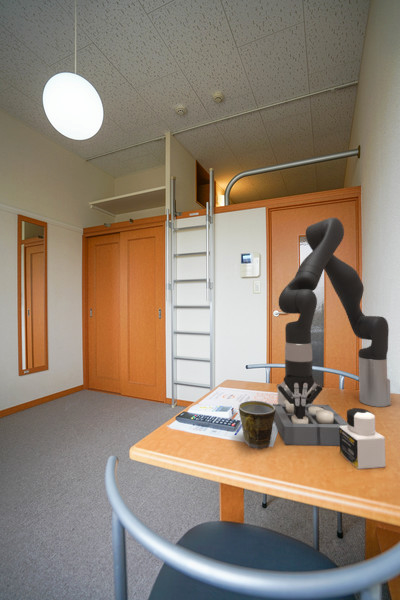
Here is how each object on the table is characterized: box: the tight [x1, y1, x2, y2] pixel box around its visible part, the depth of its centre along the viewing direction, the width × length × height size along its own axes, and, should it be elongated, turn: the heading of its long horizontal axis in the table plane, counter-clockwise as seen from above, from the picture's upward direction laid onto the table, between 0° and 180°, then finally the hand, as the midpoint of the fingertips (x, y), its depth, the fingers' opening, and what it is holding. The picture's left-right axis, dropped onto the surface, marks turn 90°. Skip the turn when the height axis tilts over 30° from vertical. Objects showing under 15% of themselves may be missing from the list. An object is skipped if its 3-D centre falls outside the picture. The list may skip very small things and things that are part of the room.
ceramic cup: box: [238, 400, 275, 450], centre depth 76 cm, size 13×10×10 cm
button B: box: [316, 410, 334, 424], centre depth 80 cm, size 5×5×3 cm
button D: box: [292, 415, 308, 424], centre depth 80 cm, size 5×5×3 cm
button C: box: [286, 402, 294, 414], centre depth 87 cm, size 5×5×3 cm
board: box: [272, 403, 347, 447], centre depth 83 cm, size 18×17×5 cm
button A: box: [308, 406, 324, 414], centre depth 87 cm, size 5×5×3 cm
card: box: [276, 385, 314, 405], centre depth 98 cm, size 12×1×9 cm, turn 86°
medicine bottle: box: [339, 407, 387, 470], centre depth 68 cm, size 7×7×12 cm
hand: (299, 417), depth 80 cm, fingers closed
